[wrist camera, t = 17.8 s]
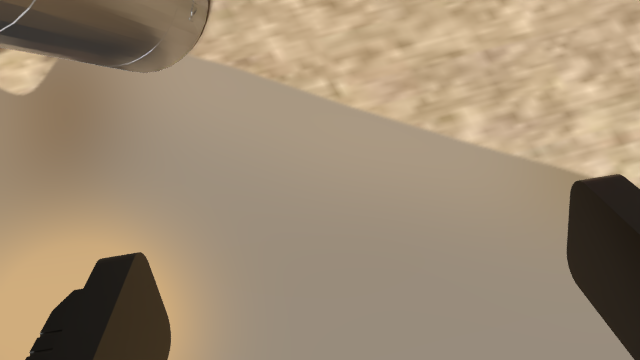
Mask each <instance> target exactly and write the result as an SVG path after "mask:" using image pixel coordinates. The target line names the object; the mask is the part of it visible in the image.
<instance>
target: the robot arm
mask: <svg viewBox="0 0 640 360" xmlns="http://www.w3.org/2000/svg"><path fill="white" fill-rule="evenodd" d="M207 11H208V0H0V47H1V48H7V49H12V50H18V51H23V52H29V53H34V54H40V55H45V56H51V57H56V58H62V59H67V60H73V61H78V62H84V63H89V64H95V65H99V66H104V67H110V68H116V69H121V70H127V71H132V72H141V73H148V72H156V71H160V70H162V69H165V68H168V67H170V66H172V65H174V64H175V63H177V62H178V61H180V60H181V59H182V58H183V57H184V56H185V55H186V54H187V53H188V52H189V51H190V50H191V49H192V48H193V46H194V45H195V43H196V42H197V40H198V39H199V37H200V35H201V32H202V30H203V27H204V25H205V22H206V16H207ZM567 239H568V240H567V260H568V265H569V269H570V272H571V274H572V277H573V279H574V281H575V283H576V284H577V285H578V287H579V288H580V289H581V291H582V292H583V293H584V295H585V296H586V297H587V298H588V300H589V301H590V302H591V304H592V305H593V306H594V308H595V309H596V310H597V312H598V313H599V314H600V315H601V317H602V318H603V319H604V321H605V322H606V323H607V325H608V326H609V327H610V328H611V330H612V331H613V332H614V334H615V335H616V336H617V337H618V339H619V340H620V341H621V343H622V344H623V345H624V347H625V348H626V349H627V351H628V352H629V353H630V355H631V356H632V357H633V358H634V360H640V189H639V188H637V187H636V186H635V185H634V184H633V183H631V182H630V181H629V180H628V179H626V178H625V177H624V176H622V175H619V174H616V175H610V176H604V177H597V178H591V179H585V180H579V181H576V182H575V183H574V184H573V186H572V188H571V192H570V206H569V223H568V238H567ZM170 344H171V331H170V324H169V319H168V316H167V313H166V310H165V307H164V304H163V301H162V299H161V296H160V293H159V290H158V288H157V285H156V282H155V279H154V277H153V274H152V271H151V268H150V266H149V263H148V260H147V259H146V257H145V256H144V254H142V253H141V252H140V253H133V254H127V255H121V256H115V257H109V258H102V259H100V260H98V261H97V263H96V265H95V267H94V269H93V271H92V272H91V274H90V277H89V279H88V281H87V283H86V284H85V286H84V288H83V289H79V290H74V291H73V292H72V293H71V294H69V296H67V297H66V299H64V300H63V301H62V302H61V303H60V304H59V305H58V306H57V307H56V308H55V309H54V310H53V311H52V312H51V314H50V316H49V318H48V320H47V321H46V323H45V325H44V327H43V329H42V330H41V333H40V338H37V340H36V341H35V343H34V345H33V347H32V349H31V350H30V356H29V357H27V358H26V359H25V360H167V359H168V355H169V351H170Z"/></svg>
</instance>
